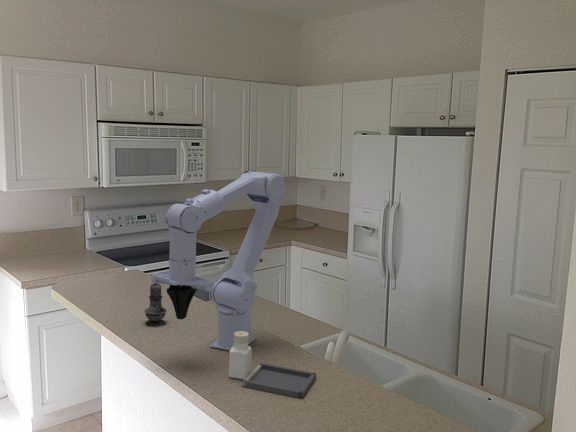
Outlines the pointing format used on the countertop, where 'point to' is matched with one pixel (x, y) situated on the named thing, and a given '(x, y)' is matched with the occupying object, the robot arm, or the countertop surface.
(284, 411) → the countertop surface
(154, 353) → the countertop surface
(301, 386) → the tray
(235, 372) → the pepper shaker
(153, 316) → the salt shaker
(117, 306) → the countertop surface
